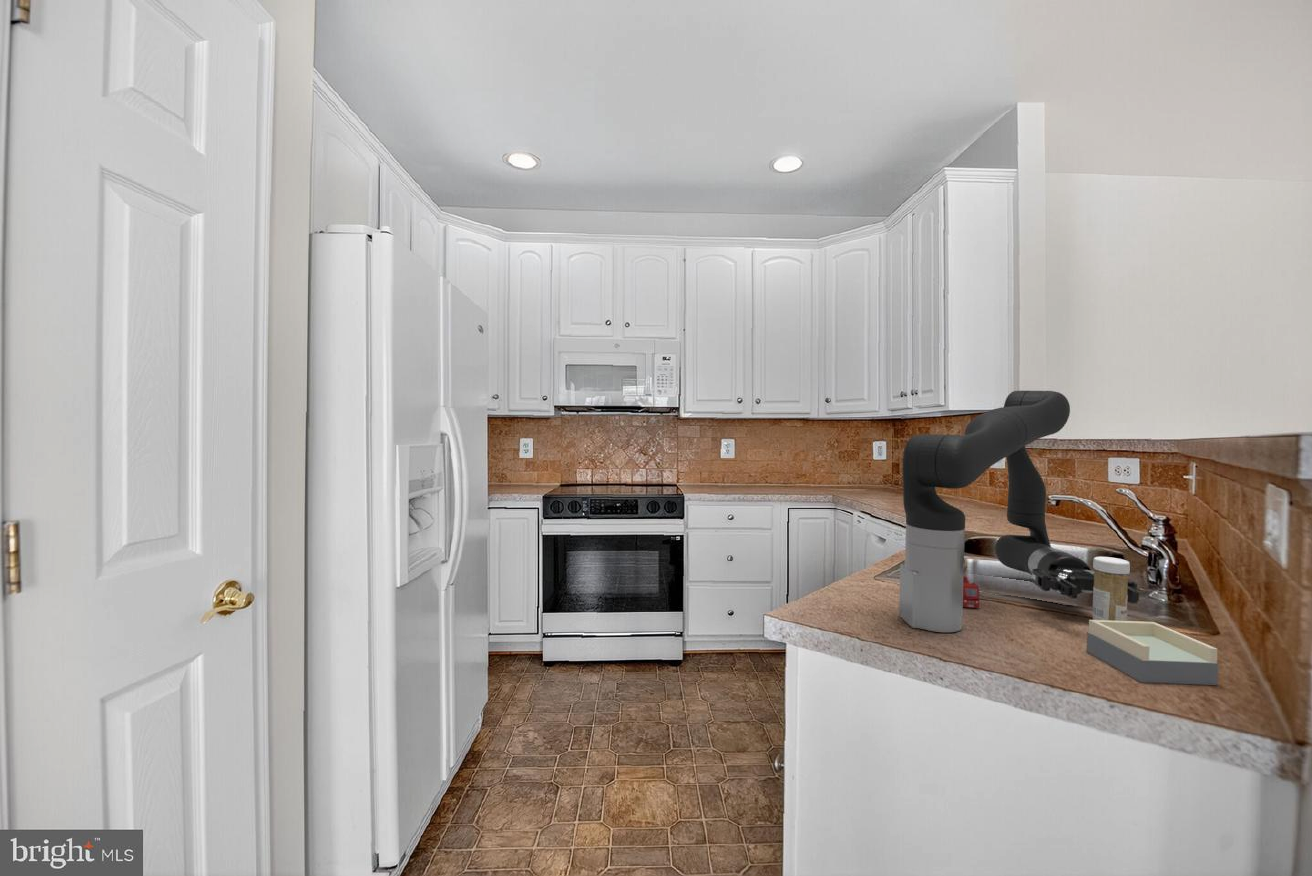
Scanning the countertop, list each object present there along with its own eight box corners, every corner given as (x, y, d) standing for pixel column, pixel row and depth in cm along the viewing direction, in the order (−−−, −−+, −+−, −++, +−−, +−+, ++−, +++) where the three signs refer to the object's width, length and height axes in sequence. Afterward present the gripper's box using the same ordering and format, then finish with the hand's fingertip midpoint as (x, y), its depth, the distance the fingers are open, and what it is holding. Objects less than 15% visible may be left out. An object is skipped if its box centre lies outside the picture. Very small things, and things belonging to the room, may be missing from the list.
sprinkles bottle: (1132, 647, 86) (1135, 563, 85) (1096, 643, 87) (1099, 560, 87) (1119, 637, 90) (1122, 557, 90) (1086, 633, 92) (1089, 554, 91)
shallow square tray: (1140, 682, 74) (1141, 645, 74) (1086, 651, 84) (1087, 619, 84) (1217, 685, 73) (1219, 648, 73) (1154, 653, 83) (1155, 621, 83)
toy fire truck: (962, 609, 103) (963, 558, 103) (939, 587, 116) (940, 543, 116) (981, 610, 102) (982, 559, 102) (956, 589, 116) (957, 544, 115)
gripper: (1017, 548, 107) (1056, 569, 91) (1101, 553, 104) (1157, 576, 88) (1016, 585, 107) (1055, 613, 92) (1100, 592, 104) (1155, 621, 88)
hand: (1104, 595), depth 90 cm, fingers open, 8 cm apart
